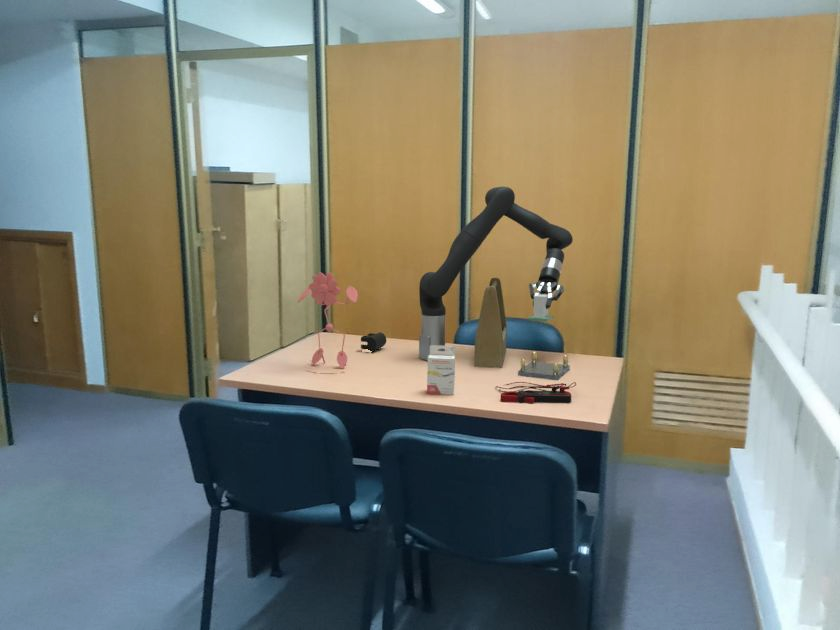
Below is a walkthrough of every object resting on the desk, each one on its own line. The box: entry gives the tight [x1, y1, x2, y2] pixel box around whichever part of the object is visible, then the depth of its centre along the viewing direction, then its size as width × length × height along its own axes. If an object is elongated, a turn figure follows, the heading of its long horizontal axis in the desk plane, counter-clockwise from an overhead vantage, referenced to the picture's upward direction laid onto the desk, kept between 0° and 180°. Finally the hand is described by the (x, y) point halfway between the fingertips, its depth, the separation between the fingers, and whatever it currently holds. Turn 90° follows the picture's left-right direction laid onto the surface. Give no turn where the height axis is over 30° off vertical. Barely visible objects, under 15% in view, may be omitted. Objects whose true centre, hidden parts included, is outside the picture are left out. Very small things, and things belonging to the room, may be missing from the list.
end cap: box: [360, 331, 387, 352], centre depth 271 cm, size 10×7×7 cm
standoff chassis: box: [517, 351, 571, 381], centre depth 237 cm, size 14×17×6 cm
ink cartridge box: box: [426, 345, 456, 395], centre depth 210 cm, size 9×5×15 cm, turn 84°
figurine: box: [296, 271, 359, 375], centre depth 238 cm, size 15×26×35 cm, turn 66°
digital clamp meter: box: [495, 381, 577, 404], centre depth 211 cm, size 23×4×25 cm
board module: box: [527, 294, 554, 323], centre depth 252 cm, size 7×9×9 cm
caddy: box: [474, 277, 508, 369], centre depth 256 cm, size 29×11×30 cm, turn 170°
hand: (540, 307), depth 251 cm, fingers closed on board module, 4 cm apart
